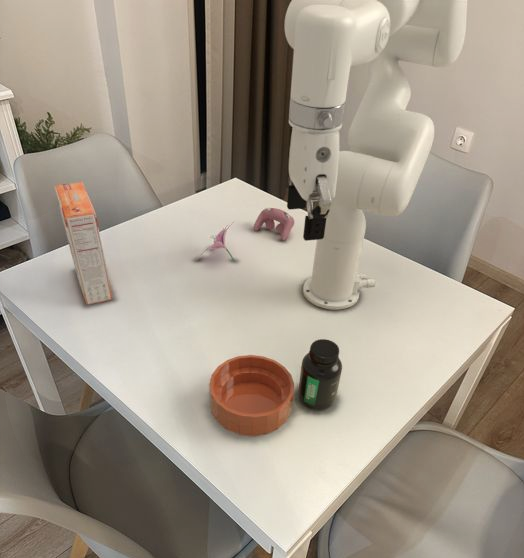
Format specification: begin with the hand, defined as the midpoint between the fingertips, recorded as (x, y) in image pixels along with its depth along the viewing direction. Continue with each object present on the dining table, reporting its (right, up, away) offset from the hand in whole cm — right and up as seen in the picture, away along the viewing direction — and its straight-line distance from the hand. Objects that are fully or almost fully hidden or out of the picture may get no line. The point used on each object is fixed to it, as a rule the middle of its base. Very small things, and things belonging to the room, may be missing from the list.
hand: (304, 222), depth 83 cm
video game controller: (-4, +10, +52) cm, 53 cm away
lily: (-18, +2, +42) cm, 45 cm away
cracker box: (-44, -6, +31) cm, 54 cm away
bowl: (-9, -30, +7) cm, 32 cm away
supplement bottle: (+3, -29, +10) cm, 31 cm away
